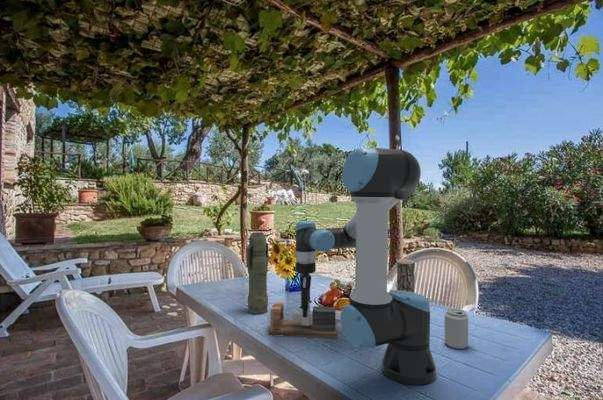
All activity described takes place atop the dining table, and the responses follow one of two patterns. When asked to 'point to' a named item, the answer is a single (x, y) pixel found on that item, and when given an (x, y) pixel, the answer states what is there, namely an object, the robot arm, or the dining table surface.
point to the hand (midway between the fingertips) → (305, 322)
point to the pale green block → (298, 314)
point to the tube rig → (319, 327)
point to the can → (456, 328)
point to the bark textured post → (405, 275)
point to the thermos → (257, 273)
